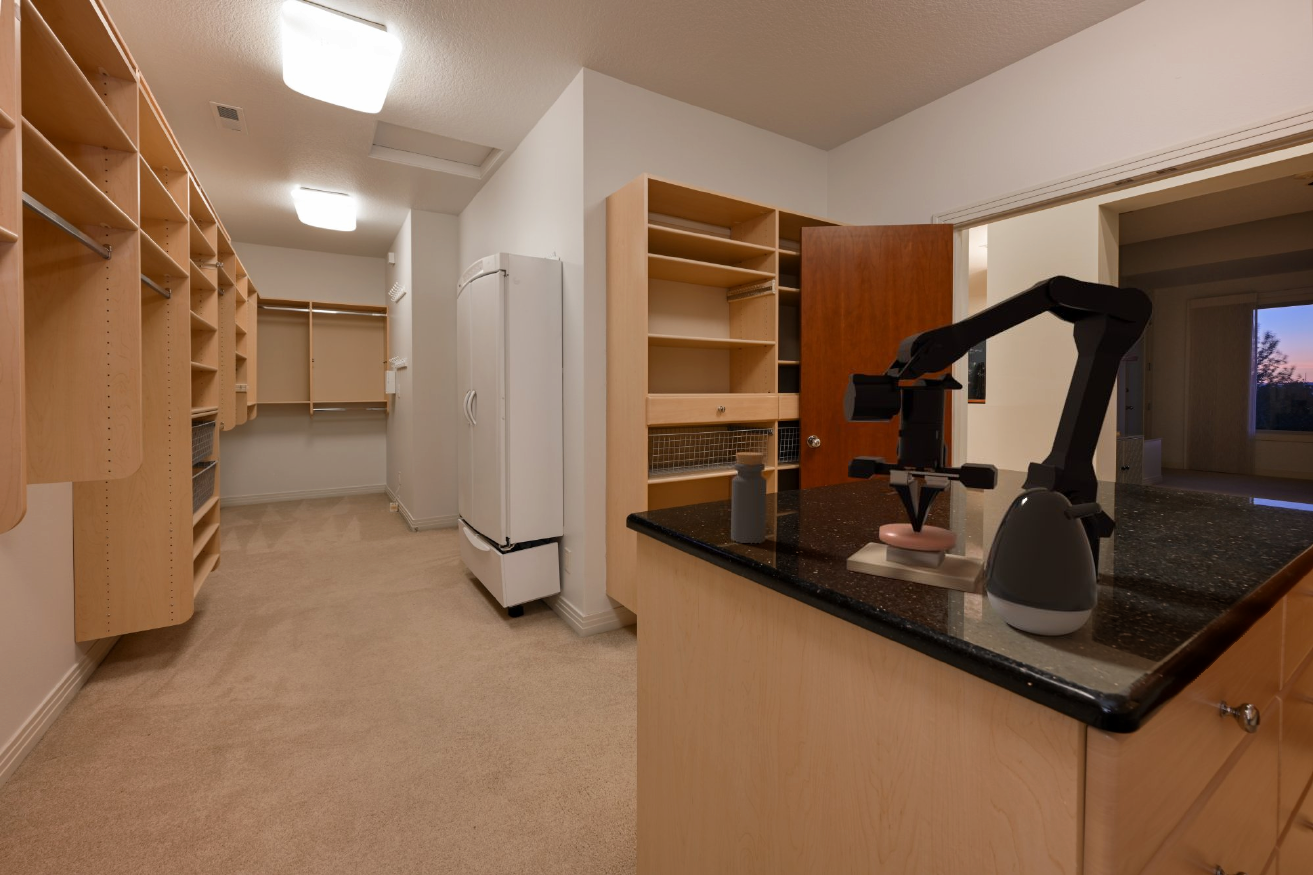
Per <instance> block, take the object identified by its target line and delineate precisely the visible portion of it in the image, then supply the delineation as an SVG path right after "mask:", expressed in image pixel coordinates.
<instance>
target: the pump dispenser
mask: <svg viewBox="0 0 1313 875" xmlns="http://www.w3.org/2000/svg"><path fill="white" fill-rule="evenodd" d="M1102 510H1103V509H1102V505H1101V504H1100V503H1099V502H1097V501H1096V502H1095V503H1087V504H1080V505H1073V506H1072V504H1071V503H1070V501H1069V500H1068V499H1067V498H1066V497H1065V496H1064V495H1063V494H1061V493H1059V492H1057V491H1055V490H1052V489H1049V488H1033V489H1029V490H1026V491H1025V490H1024V491H1022V492H1020V493H1019V494H1018V495H1017V496H1016V497H1015V498H1014V499H1013V501H1012V502H1011V503H1010V505H1009V506H1008V508H1007V510H1006V511H1005V513H1004V514H1003V517H1002V518H1001V521H1000V522H999V524H998V526H997V528H996V531H995V533H994V536H993V538H992V542H991V544H990V547H989V552H988V554H987V560H986V565H985V567H984V575H983V587H984V590H986V592H987V597H988V600H989V603H990V605H991V607H992V609H993V610H994V612H995V614H996V615H998V616H999V618H1000V619H1002V621H1004V622H1005V623H1007V624H1009V625H1010V626H1012V627H1014V628H1015V629H1018V630H1021V631H1023V632H1027V633H1030V634H1034V635H1040V636H1062V635H1067V634H1071V633H1073V632H1076V631H1077V630H1078V629H1080V628H1081V627H1083V625H1085V623H1086V622H1087V621H1088V619H1089V617H1090V616H1091V613H1092V611H1093V609H1094V608H1096V607H1097V603H1098V587H1097V586H1098V584H1097V583H1098V582H1096V573H1095V566H1094V561H1093V556H1092V552H1091V548H1090V544H1089V541H1088V538H1087V535H1086V532H1085V530H1084V527H1083V525H1082V522H1081V520H1080V518H1082V517H1085V516H1089V515H1093V514H1095V513H1100V512H1101V511H1102Z"/></svg>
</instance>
